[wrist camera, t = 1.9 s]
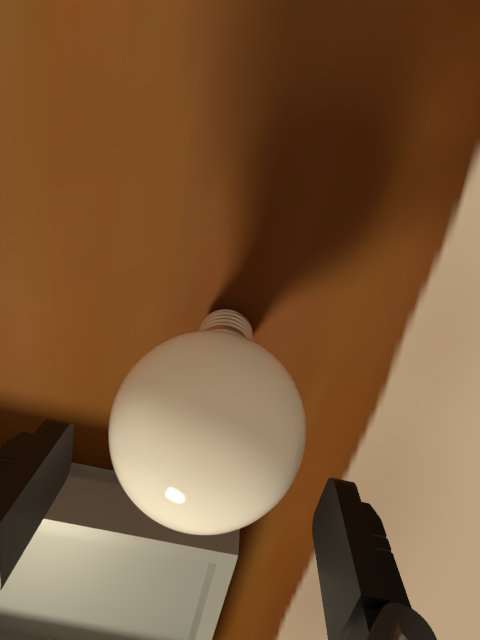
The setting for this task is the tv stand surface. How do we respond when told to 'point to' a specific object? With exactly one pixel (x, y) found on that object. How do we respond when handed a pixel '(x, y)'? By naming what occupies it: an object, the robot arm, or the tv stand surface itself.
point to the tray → (114, 571)
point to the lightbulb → (207, 429)
